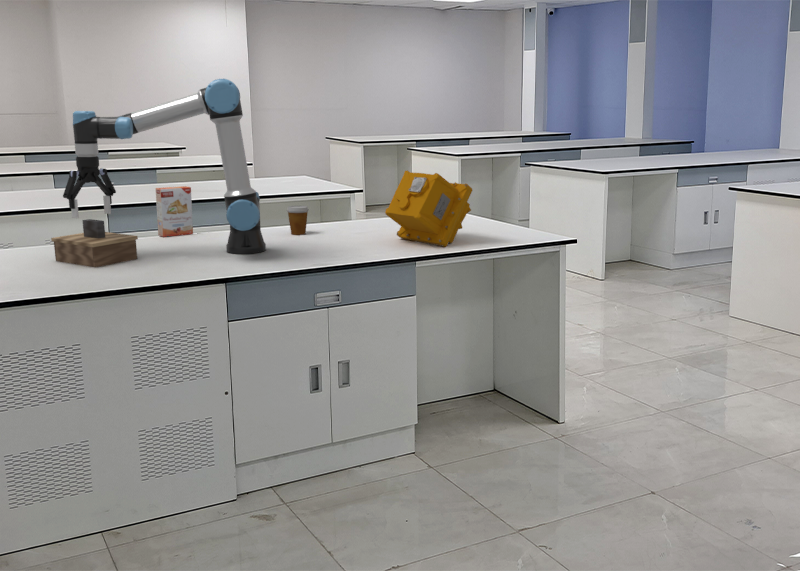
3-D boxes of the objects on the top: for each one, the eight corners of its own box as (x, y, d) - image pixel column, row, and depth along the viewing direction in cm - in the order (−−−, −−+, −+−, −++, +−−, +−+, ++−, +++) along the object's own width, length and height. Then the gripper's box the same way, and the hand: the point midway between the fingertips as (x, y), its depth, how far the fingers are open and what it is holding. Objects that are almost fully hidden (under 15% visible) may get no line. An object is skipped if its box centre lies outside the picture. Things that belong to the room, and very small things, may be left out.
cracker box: (163, 237, 334) (160, 188, 329) (158, 235, 338) (154, 187, 333) (194, 234, 342) (191, 186, 338) (188, 232, 347) (185, 185, 342)
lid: (138, 241, 283) (136, 219, 281) (93, 250, 267) (91, 226, 265) (96, 236, 294) (94, 214, 293) (51, 244, 279) (49, 221, 277)
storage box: (137, 260, 284) (135, 239, 282) (95, 269, 269) (93, 246, 267) (98, 255, 295) (96, 234, 293) (55, 263, 280) (53, 241, 279)
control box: (458, 257, 316) (413, 222, 297) (413, 248, 336) (368, 215, 317) (485, 198, 321) (442, 160, 301) (439, 193, 341) (396, 157, 321)
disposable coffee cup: (313, 233, 344) (312, 206, 341) (299, 236, 336) (299, 208, 333) (297, 231, 349) (296, 204, 346) (283, 234, 341) (282, 207, 338)
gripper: (109, 153, 286) (113, 211, 291) (48, 157, 265) (54, 218, 270) (123, 154, 282) (127, 212, 287) (62, 158, 261) (67, 220, 266)
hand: (91, 215), depth 278 cm, fingers open, 13 cm apart
